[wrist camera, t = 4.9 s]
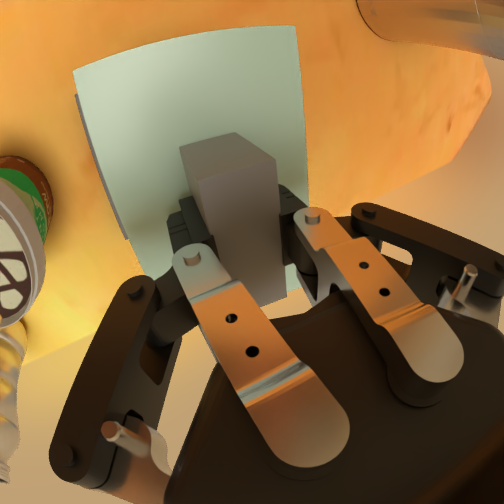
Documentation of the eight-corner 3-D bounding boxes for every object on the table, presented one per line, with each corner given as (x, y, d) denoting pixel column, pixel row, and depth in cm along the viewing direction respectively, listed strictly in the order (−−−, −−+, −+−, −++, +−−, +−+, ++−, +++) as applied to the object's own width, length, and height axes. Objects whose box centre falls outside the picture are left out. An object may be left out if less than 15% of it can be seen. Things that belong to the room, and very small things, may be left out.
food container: (78, 249, 24) (65, 325, 17) (27, 259, 22) (2, 333, 15) (53, 124, 17) (6, 155, 10) (-5, 141, 15) (-64, 183, 8)
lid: (286, 27, 10) (356, 16, 6) (303, 276, 19) (341, 327, 15) (76, 71, 8) (37, 69, 4) (173, 322, 17) (190, 387, 14)
